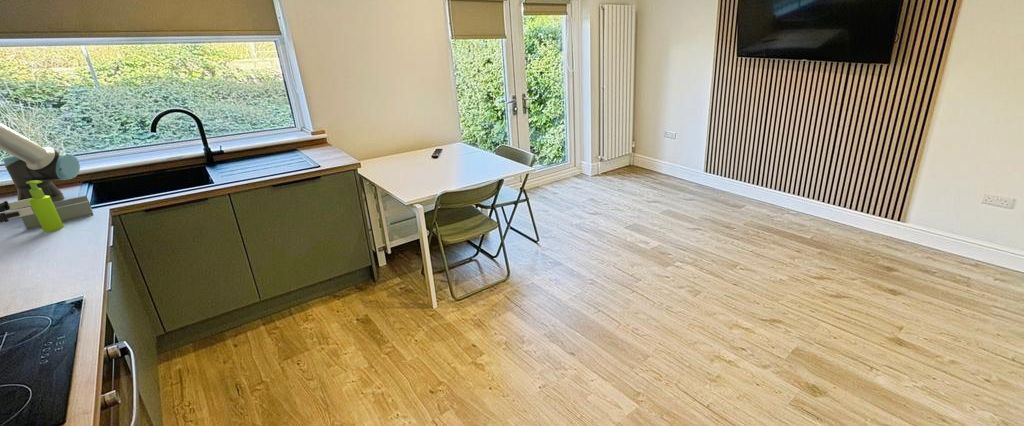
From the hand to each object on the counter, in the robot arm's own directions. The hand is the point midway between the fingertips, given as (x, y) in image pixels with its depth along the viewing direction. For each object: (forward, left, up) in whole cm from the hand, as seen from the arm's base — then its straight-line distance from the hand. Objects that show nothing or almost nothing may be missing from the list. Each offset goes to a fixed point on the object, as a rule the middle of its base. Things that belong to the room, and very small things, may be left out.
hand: (32, 205), depth 172 cm
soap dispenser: (-1, +3, -11) cm, 11 cm away
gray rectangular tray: (-15, +5, -11) cm, 19 cm away
